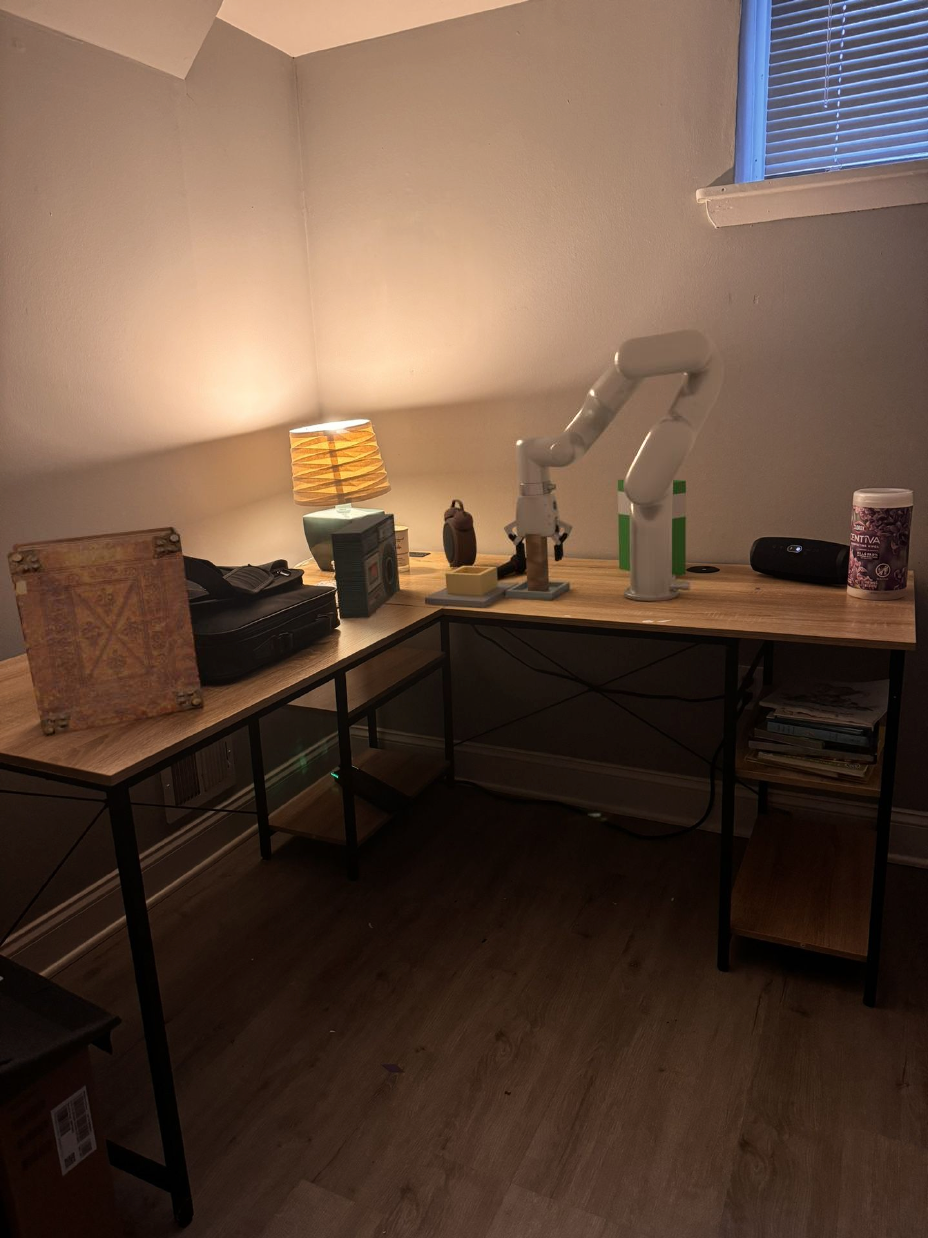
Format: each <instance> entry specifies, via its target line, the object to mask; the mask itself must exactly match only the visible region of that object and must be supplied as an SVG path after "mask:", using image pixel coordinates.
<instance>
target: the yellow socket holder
mask: <svg viewBox="0 0 928 1238" xmlns="http://www.w3.org/2000/svg"><path fill="white" fill-rule="evenodd" d="M497 567H498V566H476V565H472V566H462V567H459V568H457V567H456V568H455V569H452V570H450V571H448V572H446V573H445V584H446V586H445V588H443V589H440V590H438V591H436V592H434V593H431V594H430V595H428V596H425V597H424V605H435V606H451V607H452V606H453V607H466V608H467V607H468V608H484V609H485V608H486V607H488V606H490V605H492V604H494V603H495V602H497V601H499V600H500V599H502V598H504V597H506V590H508V589H510V588H511V587H513V586H515V585H517V584H519V582H514V581H513V582H511V581H510V582H509V581H498V579H497Z"/></svg>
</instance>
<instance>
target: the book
mask: <svg viewBox="0 0 928 1238" xmlns="http://www.w3.org/2000/svg"><path fill="white" fill-rule="evenodd" d="M183 555H184V554H183V546H182V541H181V534H180V533H179V531H178V530H177V529H176V527H174V526H168V527H159V528H157V527H156V528H149V529H139V530H131V531H122V532H120V531H119V532H113V533H103V534H94V535H93V534H92V535H86V536H85V535H83V536H75V537H66V538H57V539H47V540H39V541H38V540H37V541H29V542H19V543H15V544H13V546H12V551H8V553H7V555H6V556H7V557H6V558H7V562H8V567H9V572H10V577H11V580H12V581H11V582H12V587H13V592H14V597H15V601H16V606H17V611H18V617H19V622H20V625H21V632H22V636H23V641H24V642H23V643H24V646H25V651H26V656H27V660H28V665H29V672H30V675H31V680H32V686H33V691H34V695H35V700H36V705H37V711H38V714H39V721H40V725H41V730H42V735H43V736H44V737H50V736H51V737H52V736H56V735H57V736H58V735H63V734H68V733H73V732H78V731H82V730H83V731H84V730H89V729H95V728H100V727H105V726H111V725H116V724H121V723H126V722H131V721H138V720H142V719H147V718H148V719H149V718H152V717H159V716H165V715H169V714H174V713H179V712H184V711H190V710H196V709H201V708H204V707H205V702H204V696H203V695H204V694H203V688H202V687H203V686H202V681H201V680H202V679H201V675H200V666H199V660H198V652H197V646H196V639H195V638H196V637H195V633H194V632H195V631H194V625H193V616H192V610H191V605H190V597H189V591H188V590H189V589H188V583H187V577H186V576H187V575H186V569H185V562H184V556H183Z"/></svg>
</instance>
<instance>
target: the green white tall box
mask: <svg viewBox="0 0 928 1238" xmlns="http://www.w3.org/2000/svg"><path fill="white" fill-rule="evenodd" d="M617 505H618V507H617V508H618V509H617V511H618V513H617V515H618V517H617V518H618V520H617V521H618V567H619V568H618V569H619V570H624V571H627V572H630V500H629V499H628V498H627V496H626V494H625V492H624V479H617ZM686 511H687V481H686V480H681V479H680V480H679V479H673V498H672V575H675V577H679V576H685V575H686V572H687V571H686V567H687V566H686V560H687V559H686V558H687V557H686V556H687V555H686V554H687V553H686V548H687V547H686V545H687V544H686V543H687V542H686V541H687V539H686V537H687V536H686V534H687V529H686V526H687V525H686V523H687V521H686V519H687V512H686Z"/></svg>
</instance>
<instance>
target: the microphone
mask: <svg viewBox="0 0 928 1238" xmlns="http://www.w3.org/2000/svg"><path fill="white" fill-rule="evenodd" d="M496 567H497V580H498V579H500V578H504V577H507V576H509V575H512V574H519V575H520V574H521V575H522V574H524V573H525V572H527V565H526V558H525V559H524V560H522V561H518V557H517V556H516V553H515V554H512V556H511V557H510V560H508V561H507V562H505V563H502V564H500V565H498V566H496Z"/></svg>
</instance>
